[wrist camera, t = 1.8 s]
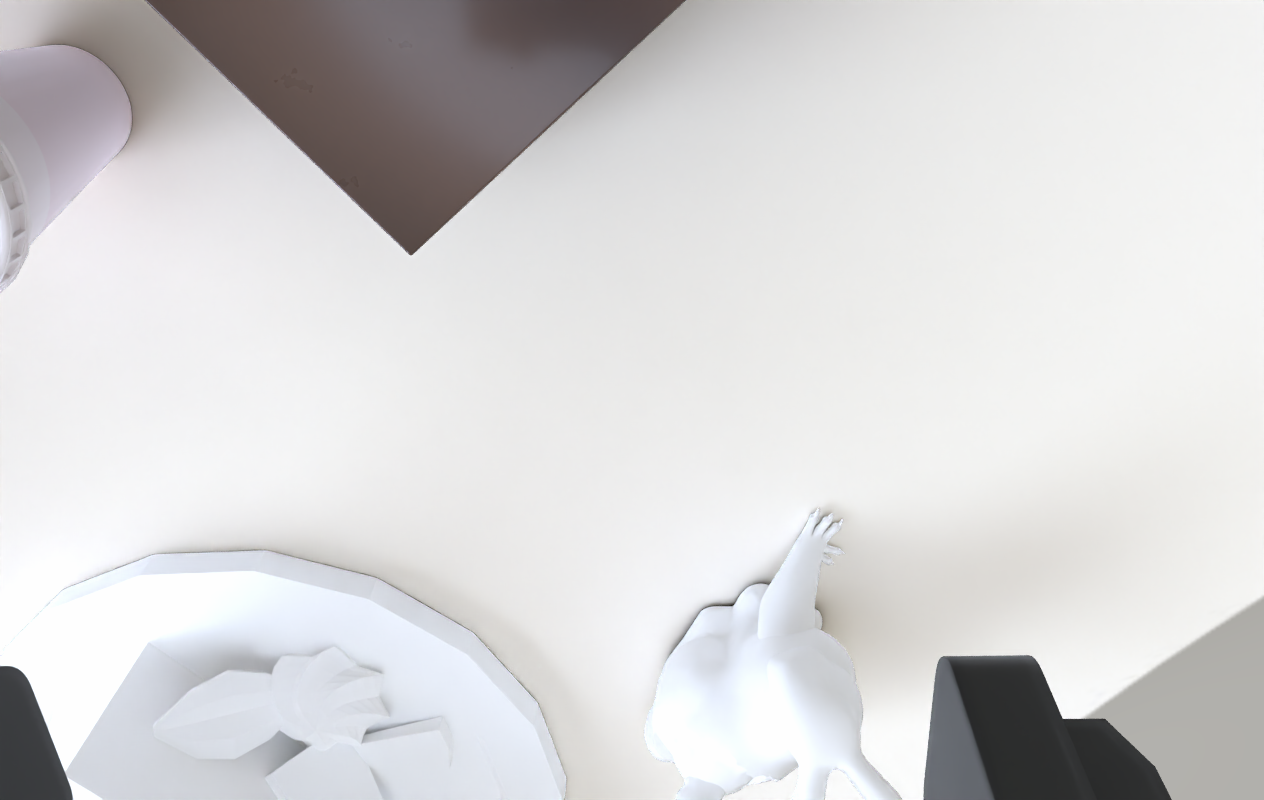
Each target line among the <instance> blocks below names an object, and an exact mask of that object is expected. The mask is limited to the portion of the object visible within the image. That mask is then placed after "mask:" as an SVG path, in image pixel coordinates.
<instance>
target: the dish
mask: <svg viewBox="0 0 1264 800" xmlns="http://www.w3.org/2000/svg"><path fill="white" fill-rule="evenodd" d="M0 666H13V667H15V668H18V669H19V670H20V671H22V672H23V673H24V674H25V676H26V677H27V678H28V680H29V682H30V684H31V687H32V689H33V692H34V694H35V697H36V699H37V702H38V705H39V707H40V710H41V712H42V715H43V717H44V720H45V722H46V725H47V728H48V730H49V733H50V735H51V738H52V740H53V743H54V745H55V748H56V751H57V753H58V756H59V758H60V761H61V763H62V766H63V768H64V771H65V774H66V776H67V779H68V781H69V784H70V787H71V790H72V795H73V800H564V799H565V790H566V781H567V778H566V776H565V773H564V770H563V768H562V765H561V762H560V760H559V757H558V755H557V752H556V749H555V747H554V744H553V741H552V739H551V736H550V733H549V731H548V728H547V725H546V723H545V720H544V717H543V715H542V712H541V710H540V707H539V704H538V703H537V701H536V700H535V699H534V698H533V697H532V696H531V695H530V694H529V693H528V692H527V691H526V690H525V688H524V687H523V686H522V685H521V684H520V683H519V682H518V681H517V680H516V679H515V678H514V676H513V675H512V674H511V673H510V672H509V671H508V670H507V669H506V668H505V667H504V666H503V665H502V663H501V662H500V661H499V660H498V659H497V658H496V657H495V656H494V655H493V654H492V653H491V651H490V650H489V649H488V648H487V647H486V646H485V645H484V644H483V643H482V642H481V641H480V640H479V638H478V637H477V636H476V635H475V634H474V633H473V632H471V631H470V630H468V629H466V628H464V627H463V626H461V625H459V624H457V623H456V622H454V621H452V620H450V619H449V618H447V617H445V616H443V615H442V614H440V613H438V612H436V611H435V610H433V609H431V608H429V607H428V606H426V605H424V604H422V603H420V602H419V601H417V600H415V599H413V598H412V597H410V596H408V595H406V594H405V593H403V592H401V591H399V590H398V589H396V588H394V587H392V586H391V585H389V584H387V583H385V582H384V581H382V580H380V579H378V578H376V577H372V576H368V575H363V574H359V573H355V572H351V571H347V570H343V569H339V568H335V567H331V566H327V565H323V564H319V563H315V562H311V561H307V560H303V559H299V558H295V557H291V556H287V555H283V554H279V553H275V552H271V551H267V550H254V551H228V552H201V553H175V554H154V555H151V556H148V557H146V558H143V559H141V560H138V561H135V562H133V563H130V564H128V565H125V566H122V567H120V568H117V569H115V570H112V571H109V572H107V573H104V574H102V575H99V576H96V577H94V578H91V579H89V580H86V581H83V582H81V583H78V584H76V585H73V586H70V587H68V588H65V589H63V590H62V591H61V592H60V593H59V594H58V595H57V596H56V597H55V598H54V599H53V600H52V601H51V602H50V603H49V604H48V605H47V606H46V607H45V608H44V609H43V610H42V611H41V612H40V613H39V614H38V615H37V616H36V617H35V618H34V619H33V620H32V621H31V622H30V623H29V624H28V625H27V626H26V627H25V628H24V629H23V630H22V631H21V632H20V633H19V634H18V635H17V636H16V637H15V638H14V639H13V640H12V641H11V642H10V643H9V644H8V645H7V646H6V647H5V649H4V650H3V651H2V652H1V653H0Z"/></svg>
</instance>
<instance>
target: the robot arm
mask: <svg viewBox="0 0 1264 800" xmlns="http://www.w3.org/2000/svg"><path fill="white" fill-rule="evenodd" d="M0 800H73V795H72V790H71V787H70V784H69V781H68V779H67V776H66V774H65V771H64V768H63V766H62V763H61V761H60V758H59V756H58V753H57V751H56V748H55V745H54V743H53V740H52V738H51V735H50V733H49V730H48V728H47V725H46V722H45V720H44V717H43V715H42V712H41V710H40V707H39V705H38V702H37V699H36V697H35V694H34V692H33V689H32V687H31V684H30V682H29V680H28V678H27V677H26V676H25V674H24V673H23V672H22V671H20V670H19V669H18V668H15V667H13V666H0ZM924 800H1171V798H1170V795H1169V794H1168V791H1167V789H1166V788H1165V785H1164V783H1163V782H1162V780H1161V778H1160V776H1159V774H1158V772H1157V770H1156V768H1155V766H1154V765H1153V764H1151V763H1150V762H1149V761H1148V760H1147V759H1146V758H1145V757H1144V756H1143V755H1142V754H1141V753H1140V752H1139V751H1138V750H1137V749H1136V748H1135V747H1134V746H1133V745H1131V743H1130V742H1129V741H1127V740H1126V739H1125V738H1124V737H1123V736H1122V735H1121V734H1120V733H1119V732H1118V731H1117V730H1116V729H1115V728H1114V727H1113V726H1112V725H1110V723H1108V721H1107V720H1106V719H1062V716H1061V714H1060V712H1059V709H1058V707H1057V705H1056V702H1055V700H1054V698H1053V695H1052V693H1051V691H1050V688H1049V686H1048V684H1047V681H1046V679H1045V677H1044V674H1043V672H1042V670H1041V668H1040V666H1039V664H1038V662H1037V661H1036V660H1035V659H1034V658H1033V657H1032V656H1029V655H1018V656H943V657H941V658H940V660H939V662H938V664H937V669H936V675H935V683H934V693H933V703H932V712H931V722H930V731H929V741H928V751H927V760H926V770H925V779H924Z"/></svg>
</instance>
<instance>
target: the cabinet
mask: <svg viewBox="0 0 1264 800" xmlns="http://www.w3.org/2000/svg"><path fill="white" fill-rule="evenodd" d="M145 1H146V2H147V3H148V4H149V5H150V6H151V7H152V8H153V9H154V10H155V11H156V12H157V13H158V14H159V15H161V16H162V17H163V18H164V19H165V20H166V21H167V22H168V23H169V24H170V25H171V26H172V27H173V28H174V29H175V30H176V31H177V32H178V33H179V34H180V35H181V36H182V37H183V38H184V39H185V40H187V41H188V42H189V43H190V44H191V45H192V46H193V47H194V48H195V49H196V50H197V51H198V52H199V53H200V54H201V55H202V56H203V57H204V58H205V59H206V60H207V61H208V62H209V63H210V64H212V65H213V66H214V67H215V68H216V69H217V70H218V71H219V72H220V73H221V74H222V75H223V76H224V77H225V78H226V79H227V80H228V81H229V82H230V83H231V84H232V85H233V86H234V87H235V88H236V89H238V90H239V91H240V92H241V93H242V94H243V95H244V96H245V97H246V98H247V99H248V100H249V101H250V102H251V103H252V104H253V105H254V106H255V107H256V108H257V109H258V110H259V111H260V112H261V113H262V114H264V115H265V116H266V117H267V118H268V119H269V120H270V121H271V122H272V123H273V124H274V125H275V126H276V127H277V128H278V129H279V130H280V131H281V132H282V133H283V134H284V135H285V136H286V137H287V138H288V139H290V140H291V141H292V142H293V143H294V144H295V145H296V146H297V147H298V148H299V149H300V150H301V151H302V152H303V153H304V154H305V155H306V156H307V157H308V158H309V159H310V160H311V161H312V162H313V163H315V164H316V165H317V166H318V167H319V168H320V169H321V170H322V171H323V172H324V173H325V174H326V175H327V176H328V177H329V178H330V179H331V180H332V181H333V182H334V183H335V184H336V185H337V186H338V187H339V188H341V189H342V190H343V191H344V192H345V193H346V194H347V195H348V196H349V197H350V198H351V199H352V200H353V201H354V202H355V203H356V204H357V205H358V206H359V207H360V208H361V209H362V210H363V211H364V212H365V213H367V214H368V215H369V216H370V217H371V218H372V219H373V220H374V221H375V222H376V223H377V224H378V225H379V226H380V227H381V228H382V229H383V230H384V231H385V232H386V233H387V234H388V235H389V236H390V237H392V238H393V239H394V240H395V241H396V242H397V243H398V244H399V245H400V246H401V247H402V248H403V249H404V250H405V251H406V252H407V253H408V254H409V255H413V254H414V253H415V252H416V251H417V250H418V249H419V248H420V247H421V246H423V245H424V244H425V243H426V242H427V241H428V240H429V239H430V238H431V237H432V236H433V235H434V234H435V233H437V232H438V231H439V230H440V229H441V228H442V227H443V226H444V225H445V224H446V223H447V222H448V221H449V220H450V219H452V218H453V217H454V216H455V215H456V214H457V213H458V212H459V211H460V210H461V209H462V208H463V207H464V206H466V205H467V204H468V203H469V202H470V201H471V200H472V199H473V198H474V197H475V196H476V195H477V194H478V193H479V192H481V191H482V190H483V189H484V188H485V187H486V186H487V185H488V184H489V183H490V182H491V181H492V180H493V179H495V178H496V177H497V176H498V175H499V174H500V173H501V172H502V171H503V170H504V169H505V168H506V167H507V166H508V165H510V164H511V163H512V162H513V161H514V160H515V159H516V158H517V157H518V156H519V155H520V154H521V153H522V152H524V151H525V150H526V149H527V148H528V147H529V146H530V145H531V144H532V143H533V142H534V141H535V140H536V139H538V138H539V137H540V136H541V135H542V134H543V133H544V132H545V131H546V130H547V129H548V128H549V127H550V126H551V125H553V124H554V123H555V122H556V121H557V120H558V119H559V118H560V117H561V116H562V115H563V114H564V113H565V112H567V111H568V110H569V109H570V108H571V107H572V106H573V105H574V104H575V103H576V102H577V101H578V100H579V99H580V98H582V97H583V96H584V95H585V94H586V93H587V92H588V91H589V90H590V89H591V88H592V87H593V86H594V85H596V84H597V83H598V82H599V81H600V80H601V79H602V78H603V77H604V76H605V75H606V74H607V73H608V72H609V71H611V70H612V69H613V68H614V67H615V66H616V65H617V64H618V63H619V62H620V61H621V60H622V59H623V58H625V57H626V56H627V55H628V54H629V53H630V52H631V51H632V50H633V49H634V48H635V47H636V46H637V45H638V44H640V43H641V42H642V41H643V40H644V39H645V38H646V37H647V36H648V35H649V34H650V33H651V32H652V31H654V30H655V29H656V28H657V27H658V26H659V25H660V24H661V23H662V22H663V21H664V20H665V19H666V18H667V17H669V16H670V15H671V14H672V13H673V12H674V11H675V10H676V9H677V8H678V7H679V6H680V5H681V4H683V3H684V2H685V1H686V0H145Z"/></svg>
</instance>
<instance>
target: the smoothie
mask: <svg viewBox="0 0 1264 800" xmlns="http://www.w3.org/2000/svg"><path fill="white" fill-rule="evenodd" d="M131 126H132V111H131V105H130V102H129V98H128V96H127V93H126V91H125V89H124V87H123V85H122V84H121V82H120V80H119V79H118V77H117V76H116V75H115V74H114V72H113V71H112V70H111V69H110V68H109V67H108V66H107V65H106V64H105V63H103V62H102V61H101V60H99V59H98V58H97V57H95V56H94V55H92V54H90V53H88V52H86V51H84V50H82V49H79V48H76V47H72V46H67V45H47V46H39V47H30V48H21V49H13V50H4V51H0V293H1V292H2V291H3V290H4V289H5V288H6V287H8V286H9V285H10V284H11V283H12V282H13V281H14V280H15V279H16V277H17V275H18V273H19V271H20V269H21V267H22V265H23V263H24V261H25V259H26V257H27V256H28V252H29V246H30V245H31V244H32V243H33V241H34V240H35V239H36V238H37V237H38V236H39V235H40V234H41V233H42V232H43V230H44V229H45V228H46V227H47V226H48V225H49V224H50V223H51V222H52V221H53V220H54V219H55V218H56V217H57V216H58V215H59V214H60V213H61V212H62V211H63V210H64V209H65V208H66V207H67V206H68V205H69V203H70V202H71V201H72V200H73V199H74V198H75V197H76V196H77V195H78V194H79V193H80V192H81V191H82V190H83V189H84V188H85V187H86V186H87V185H88V184H89V183H90V182H91V181H92V180H93V179H94V177H95V176H96V175H97V174H98V173H99V172H100V171H101V170H102V169H103V168H104V167H105V166H106V165H107V164H108V163H109V162H110V161H111V160H112V159H113V158H114V157H115V156H116V155H117V154H118V153H119V151H120V150H121V149H122V148H123V147H124V145H125V144H126V142H127V140H128V138H129V135H130V132H131Z"/></svg>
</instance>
